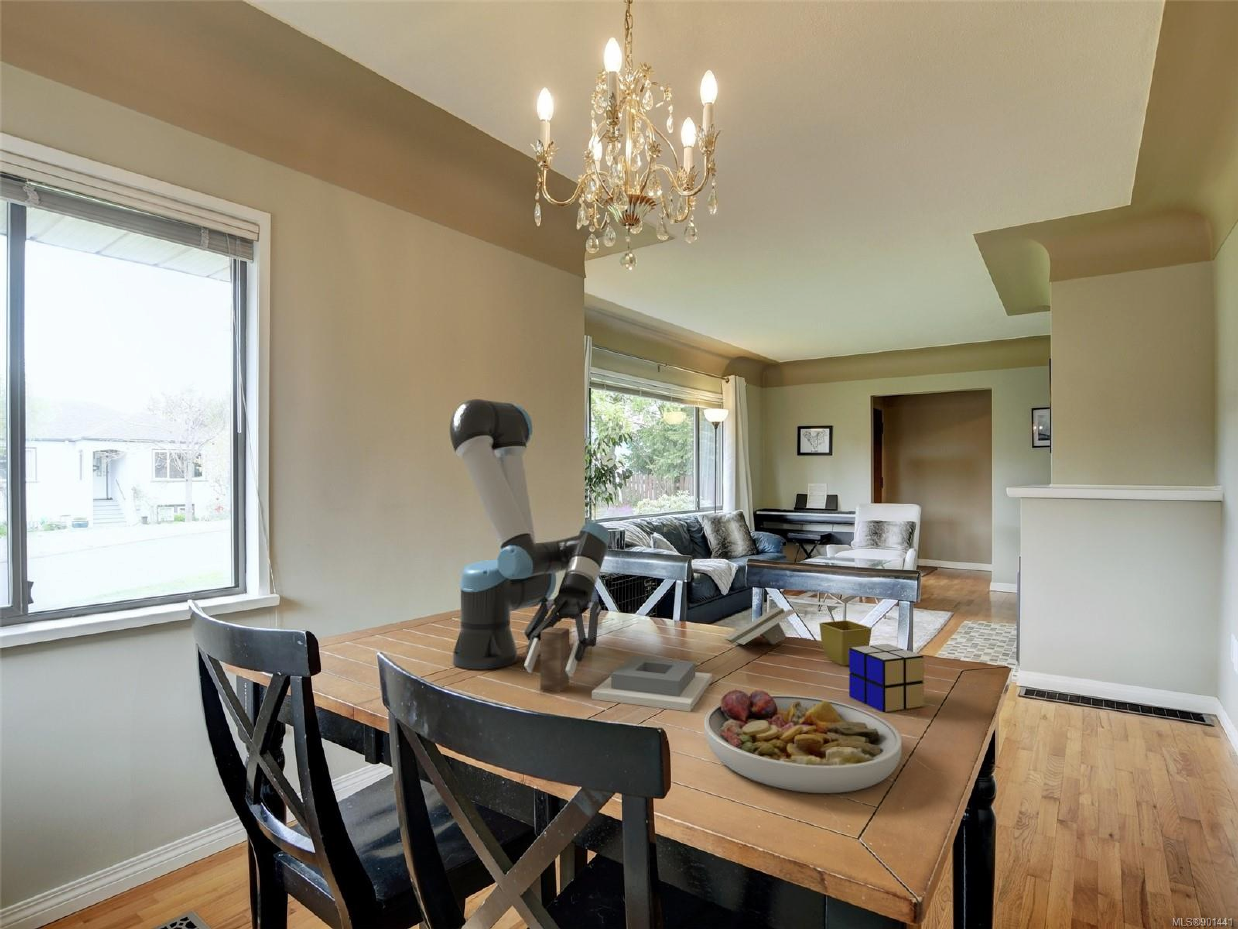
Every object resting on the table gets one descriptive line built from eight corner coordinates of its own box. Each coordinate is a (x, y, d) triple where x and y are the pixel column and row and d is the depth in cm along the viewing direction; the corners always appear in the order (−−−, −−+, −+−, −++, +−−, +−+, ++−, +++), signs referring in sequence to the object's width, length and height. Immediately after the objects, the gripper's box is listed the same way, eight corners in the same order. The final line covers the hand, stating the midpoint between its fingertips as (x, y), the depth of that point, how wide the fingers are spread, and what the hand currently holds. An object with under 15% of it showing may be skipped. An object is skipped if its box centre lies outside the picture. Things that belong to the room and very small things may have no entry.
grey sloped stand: (769, 674, 163) (816, 626, 166) (742, 644, 164) (789, 597, 167) (747, 665, 181) (790, 622, 185) (723, 638, 182) (766, 596, 185)
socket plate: (591, 699, 131) (591, 676, 131) (625, 671, 150) (625, 651, 150) (690, 711, 124) (690, 687, 124) (711, 680, 143) (711, 660, 143)
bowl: (928, 754, 106) (928, 705, 106) (854, 828, 84) (854, 766, 84) (763, 710, 126) (763, 668, 126) (667, 760, 104) (667, 709, 104)
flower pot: (872, 666, 155) (872, 627, 155) (843, 669, 152) (843, 630, 152) (847, 656, 163) (847, 620, 163) (818, 660, 160) (818, 622, 160)
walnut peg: (540, 689, 137) (540, 631, 137) (549, 683, 141) (550, 626, 141) (560, 692, 135) (560, 633, 136) (569, 685, 140) (569, 628, 140)
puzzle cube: (848, 697, 133) (848, 647, 134) (887, 691, 137) (887, 643, 137) (884, 713, 124) (884, 660, 124) (925, 707, 127) (925, 655, 128)
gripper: (627, 594, 149) (601, 686, 134) (542, 588, 157) (508, 675, 141) (619, 574, 145) (591, 667, 129) (531, 569, 152) (495, 656, 137)
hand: (548, 671), depth 135 cm, fingers open, 9 cm apart
